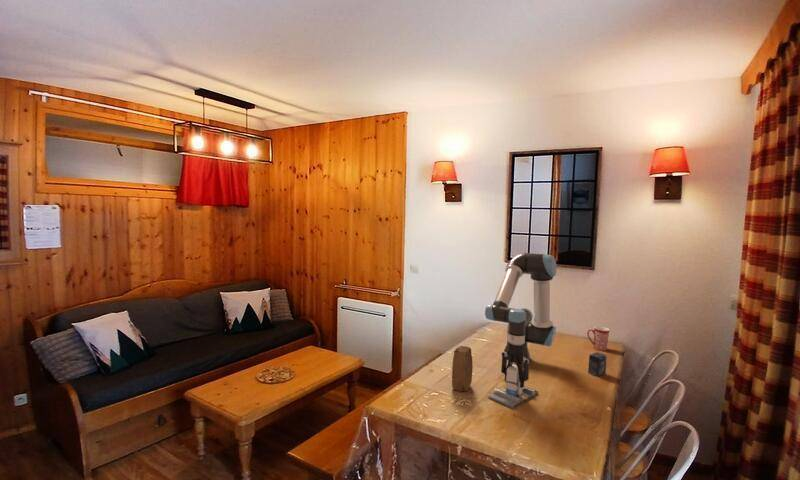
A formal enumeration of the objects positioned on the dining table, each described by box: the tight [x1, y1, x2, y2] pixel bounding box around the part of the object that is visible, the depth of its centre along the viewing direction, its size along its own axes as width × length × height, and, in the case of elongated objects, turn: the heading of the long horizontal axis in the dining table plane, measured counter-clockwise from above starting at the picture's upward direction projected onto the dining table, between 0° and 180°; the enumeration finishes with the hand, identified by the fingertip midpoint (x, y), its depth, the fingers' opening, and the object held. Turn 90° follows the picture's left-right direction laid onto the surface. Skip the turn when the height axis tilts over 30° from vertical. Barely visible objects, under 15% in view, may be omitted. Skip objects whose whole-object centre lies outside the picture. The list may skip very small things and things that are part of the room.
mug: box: [586, 326, 610, 352], centre depth 251 cm, size 13×9×14 cm
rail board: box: [487, 385, 539, 410], centre depth 182 cm, size 13×22×3 cm, turn 132°
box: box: [587, 351, 608, 377], centre depth 211 cm, size 8×6×11 cm
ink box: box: [505, 363, 520, 396], centre depth 182 cm, size 9×5×12 cm, turn 144°
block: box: [451, 345, 474, 392], centre depth 189 cm, size 11×8×20 cm
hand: (513, 391), depth 182 cm, fingers closed on ink box, 6 cm apart
